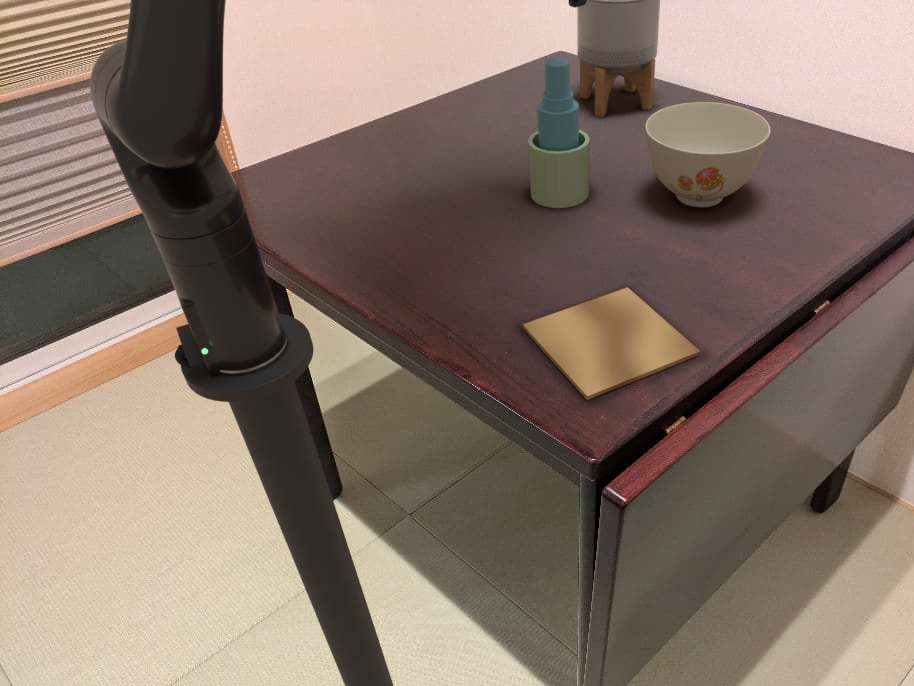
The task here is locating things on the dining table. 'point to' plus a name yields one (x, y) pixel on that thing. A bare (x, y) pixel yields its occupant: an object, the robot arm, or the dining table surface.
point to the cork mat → (609, 342)
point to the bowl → (705, 149)
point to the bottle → (558, 109)
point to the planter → (617, 48)
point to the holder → (559, 173)
